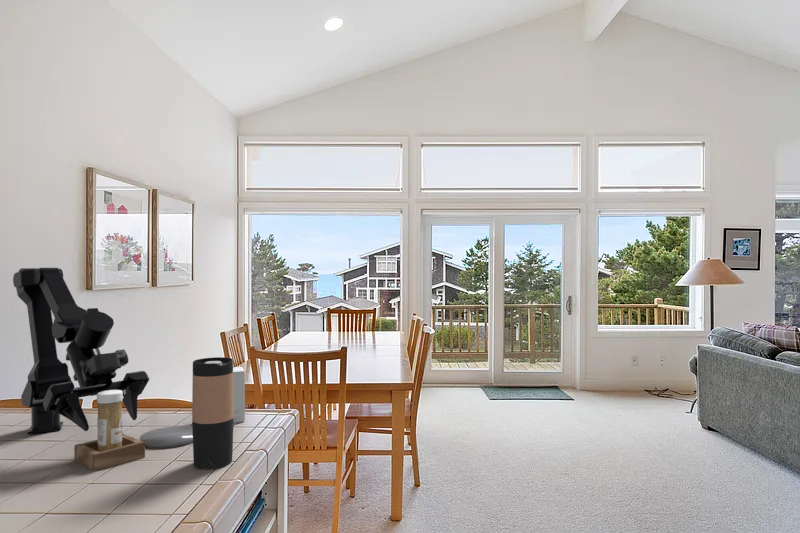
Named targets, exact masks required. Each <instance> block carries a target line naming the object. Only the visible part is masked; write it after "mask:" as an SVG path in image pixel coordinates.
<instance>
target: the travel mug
mask: <svg viewBox="0 0 800 533" xmlns="http://www.w3.org/2000/svg"><path fill="white" fill-rule="evenodd" d="M233 367H234V359H233V358H231V357H225V356H224V357H221V356H220V357H205V358H199V359H195V360H193V362H192V384H191V385H192V390H191V391H192V394H191V395H192V399H191V400H192V402H191V403H192V407H191V408H192V410H191V413H192V414H191V417H192V418H191V419H192V420H191V421H192V422H191V424H192V425H191V426H192V430H193V443H192V452H193V454H192V455H193V456H192V457H193V466H194V468H196V469H199V470H216V469H220V467H221V468H224V467H226V465H227V466H228V464H229V465H230V464H232V462H233V453H234V452H233V446H234V423H233V421H234V418H233V417H234V407H233ZM223 466H224V467H223Z"/></svg>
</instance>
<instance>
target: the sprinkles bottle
mask: <svg viewBox="0 0 800 533" xmlns="http://www.w3.org/2000/svg"><path fill="white" fill-rule="evenodd" d="M122 400H123V392H122V391H121V390H107V391H102V392H99V393H98V394H97V395H96V403H97V440H98V452H102V451H105V450H109V449H113V448H117V447H121V446H122V434H123V413H122V412H123V411H122V410H123V408H122V407H123V406H122V403H123V401H122Z"/></svg>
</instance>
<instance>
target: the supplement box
mask: <svg viewBox="0 0 800 533" xmlns="http://www.w3.org/2000/svg"><path fill="white" fill-rule="evenodd" d="M245 376H246V374H245V369H244V368H243V366H235V367H234V366H233V407H234V417H233V418H234V421H233V422H236V423H243V422H245V420H246V419H245V418H246V416H245V415H246V412H245V411H246V409H245V408H246V405H245V404H246V403H245V402H246V398H245V396H246V394H245V393H246V392H245V391H246V390H245V388H246V387H245V386H246V382H245V381H246V380H245V378H246V377H245Z"/></svg>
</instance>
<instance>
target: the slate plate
mask: <svg viewBox="0 0 800 533" xmlns="http://www.w3.org/2000/svg"><path fill="white" fill-rule="evenodd" d="M139 440H140V441H143V442H145V448H147V449H148V448H149V449H172V448H177V447H183V446H188V445H191V444H193V430H192V425H173V426H166V427H165V426H164V427H161V428H156V429H152V430H149V431H146V432H144V433H143V434H141V435H140V436H139Z"/></svg>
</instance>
